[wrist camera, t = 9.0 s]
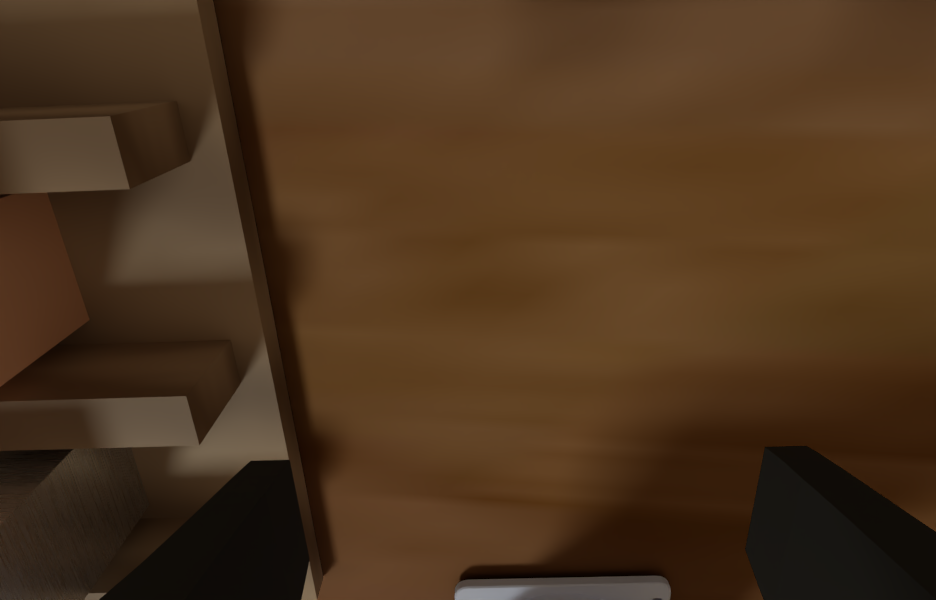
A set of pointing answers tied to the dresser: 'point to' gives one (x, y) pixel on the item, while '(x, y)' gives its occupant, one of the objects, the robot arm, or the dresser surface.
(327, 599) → the dresser surface
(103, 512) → the grey plug
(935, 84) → the dresser surface
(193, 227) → the cable comb
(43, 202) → the terracotta plug
